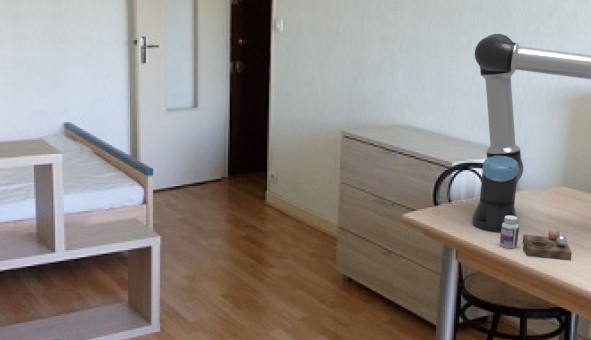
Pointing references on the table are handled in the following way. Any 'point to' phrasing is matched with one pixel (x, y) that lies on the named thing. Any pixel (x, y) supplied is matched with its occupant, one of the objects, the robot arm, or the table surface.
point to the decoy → (553, 234)
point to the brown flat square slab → (545, 248)
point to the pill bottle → (509, 232)
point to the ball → (561, 240)
